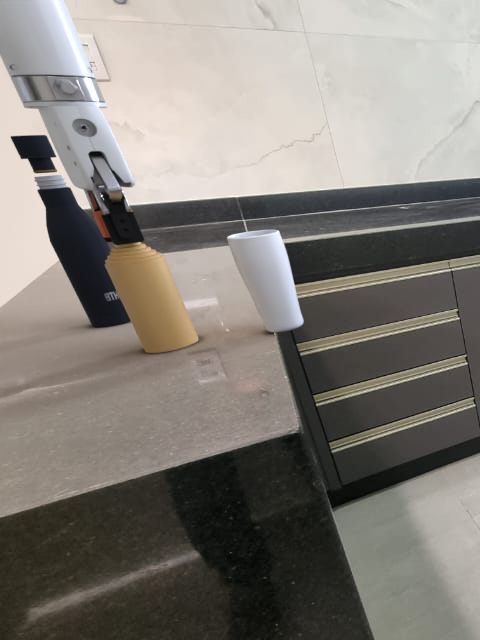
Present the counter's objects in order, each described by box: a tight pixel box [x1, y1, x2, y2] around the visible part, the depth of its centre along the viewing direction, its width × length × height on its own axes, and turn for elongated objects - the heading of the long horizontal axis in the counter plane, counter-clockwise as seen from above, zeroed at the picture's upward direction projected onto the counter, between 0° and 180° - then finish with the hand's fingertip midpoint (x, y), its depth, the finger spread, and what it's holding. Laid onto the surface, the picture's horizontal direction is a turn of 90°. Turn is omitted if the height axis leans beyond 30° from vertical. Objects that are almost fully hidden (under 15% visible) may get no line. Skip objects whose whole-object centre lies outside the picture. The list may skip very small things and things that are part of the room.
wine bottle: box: [10, 134, 131, 328], centre depth 86 cm, size 6×6×30 cm
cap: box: [91, 208, 133, 238], centre depth 72 cm, size 4×4×3 cm
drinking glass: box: [226, 229, 305, 334], centre depth 81 cm, size 7×7×15 cm
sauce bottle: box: [105, 242, 199, 354], centre depth 76 cm, size 6×6×18 cm
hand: (124, 240), depth 73 cm, fingers closed on cap, 3 cm apart
